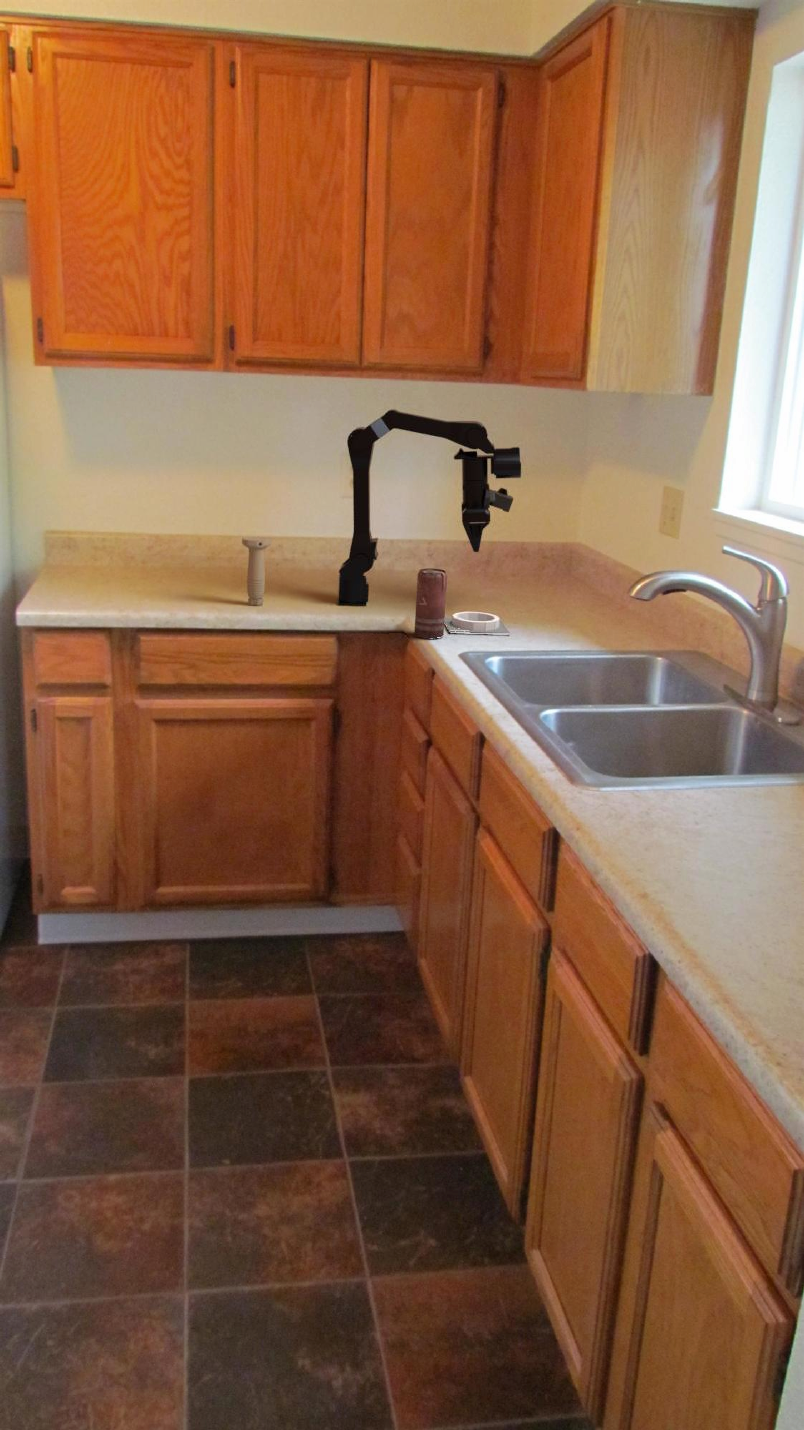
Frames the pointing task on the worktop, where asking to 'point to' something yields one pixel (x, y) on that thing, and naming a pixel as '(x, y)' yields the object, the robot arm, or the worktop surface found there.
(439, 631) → the can
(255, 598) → the handle
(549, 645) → the worktop surface
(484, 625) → the square base with ring
